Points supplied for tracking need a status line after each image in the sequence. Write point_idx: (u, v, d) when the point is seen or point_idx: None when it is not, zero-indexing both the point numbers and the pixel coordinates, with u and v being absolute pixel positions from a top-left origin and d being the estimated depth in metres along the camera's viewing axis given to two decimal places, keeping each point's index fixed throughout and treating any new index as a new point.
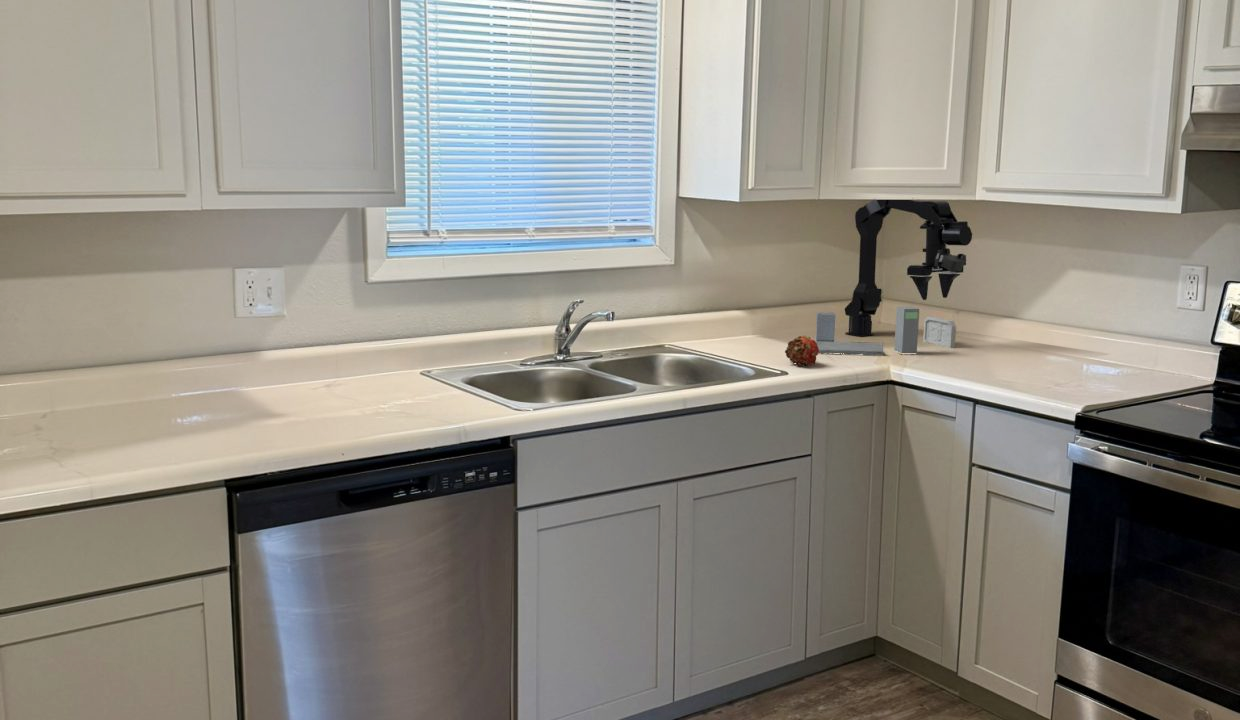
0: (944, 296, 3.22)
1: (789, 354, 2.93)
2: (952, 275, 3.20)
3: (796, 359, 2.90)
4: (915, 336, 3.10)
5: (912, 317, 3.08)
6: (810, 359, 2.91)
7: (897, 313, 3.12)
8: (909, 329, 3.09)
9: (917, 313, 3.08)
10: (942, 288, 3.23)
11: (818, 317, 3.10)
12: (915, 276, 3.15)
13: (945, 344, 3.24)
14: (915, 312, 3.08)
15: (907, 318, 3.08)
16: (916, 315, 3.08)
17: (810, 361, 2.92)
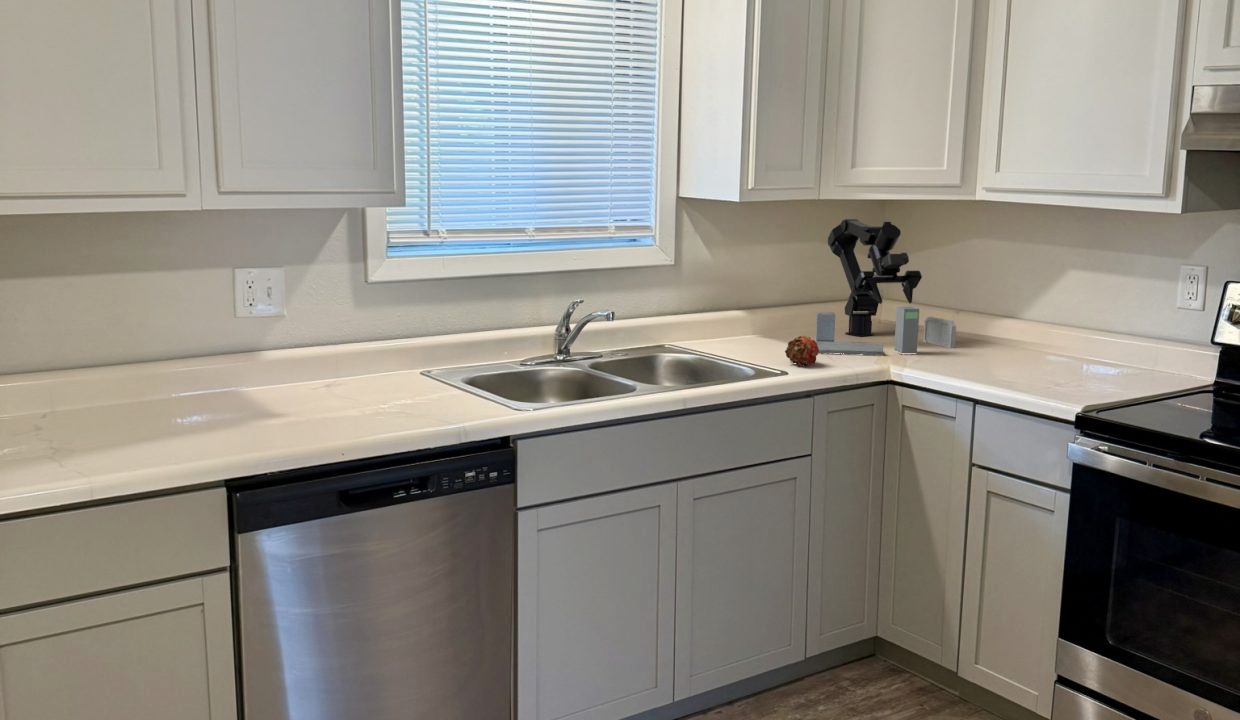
0: (910, 301, 3.19)
1: (789, 354, 2.93)
2: (908, 280, 3.21)
3: (796, 359, 2.90)
4: (915, 336, 3.10)
5: (912, 317, 3.08)
6: (810, 359, 2.91)
7: (897, 313, 3.12)
8: (909, 329, 3.09)
9: (917, 313, 3.08)
10: (907, 297, 3.21)
11: (818, 317, 3.10)
12: (863, 285, 3.21)
13: (945, 344, 3.24)
14: (915, 312, 3.08)
15: (907, 318, 3.08)
16: (916, 315, 3.08)
17: (810, 361, 2.92)
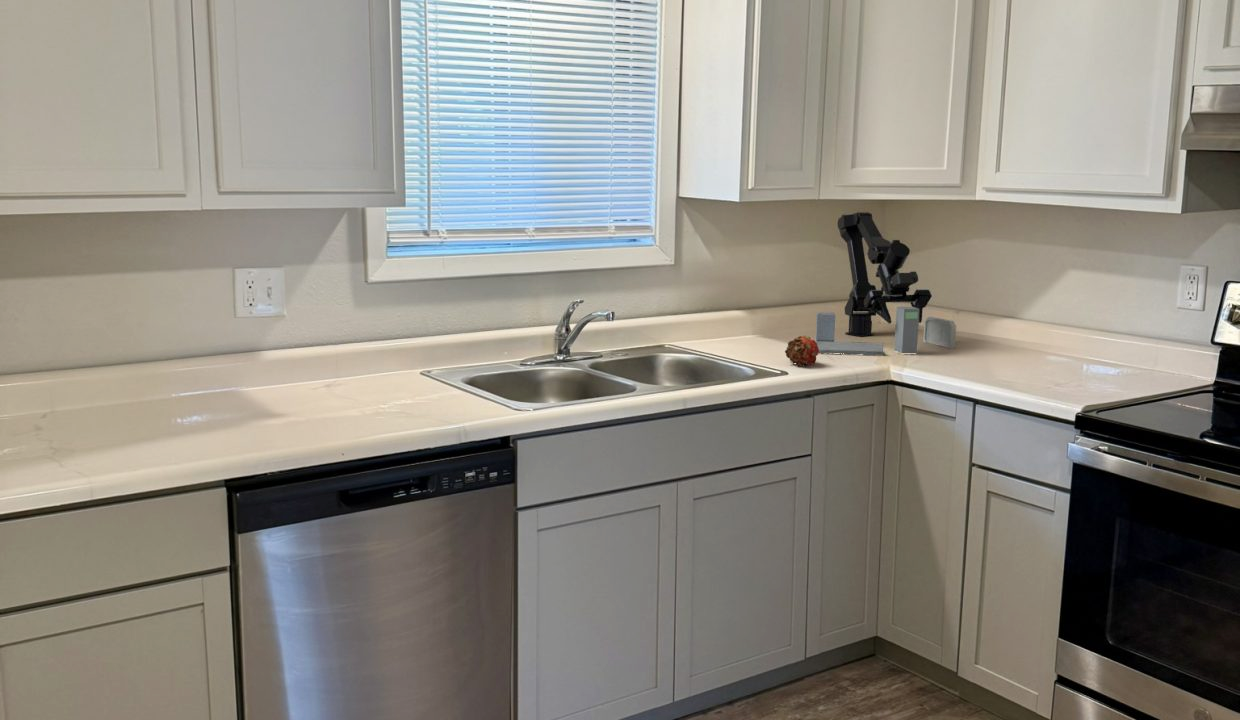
0: (920, 321, 3.13)
1: (789, 354, 2.93)
2: (918, 299, 3.15)
3: (796, 359, 2.90)
4: (915, 336, 3.10)
5: (912, 317, 3.08)
6: (810, 359, 2.91)
7: (897, 313, 3.12)
8: (909, 329, 3.09)
9: (917, 313, 3.08)
10: None
11: (818, 317, 3.10)
12: (872, 305, 3.15)
13: (945, 344, 3.24)
14: (915, 312, 3.08)
15: (907, 318, 3.08)
16: (916, 315, 3.08)
17: (810, 361, 2.92)
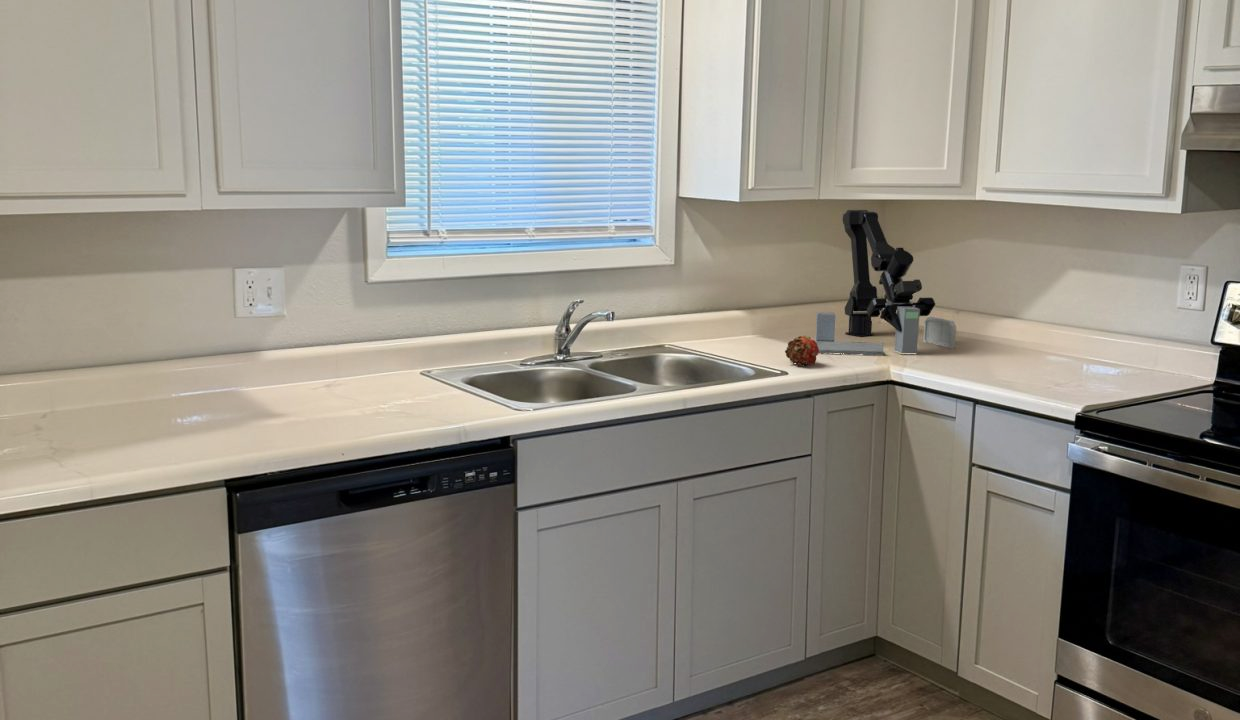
0: None
1: (789, 354, 2.93)
2: (915, 307, 3.12)
3: (796, 359, 2.90)
4: (915, 336, 3.10)
5: (912, 317, 3.08)
6: (810, 359, 2.91)
7: (897, 313, 3.12)
8: (910, 328, 3.09)
9: (917, 313, 3.08)
10: None
11: (818, 317, 3.10)
12: (882, 313, 3.13)
13: (945, 344, 3.24)
14: (916, 312, 3.08)
15: (907, 318, 3.08)
16: (917, 315, 3.08)
17: (810, 361, 2.92)
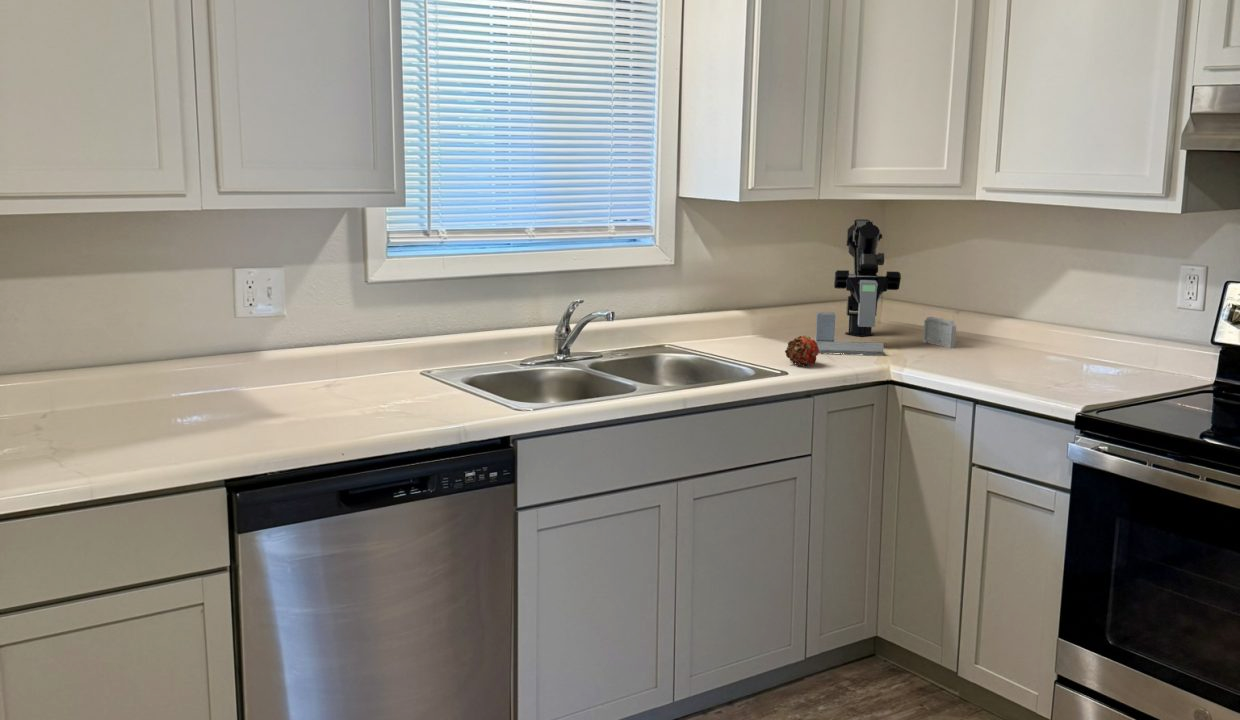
0: (876, 302, 3.17)
1: (789, 354, 2.93)
2: (878, 280, 3.19)
3: (796, 359, 2.90)
4: (873, 309, 3.17)
5: (869, 290, 3.16)
6: (810, 359, 2.91)
7: None
8: (866, 301, 3.17)
9: (875, 286, 3.15)
10: None
11: (818, 317, 3.10)
12: (846, 284, 3.23)
13: (945, 344, 3.24)
14: (873, 285, 3.15)
15: (864, 290, 3.16)
16: (874, 288, 3.16)
17: (810, 361, 2.92)
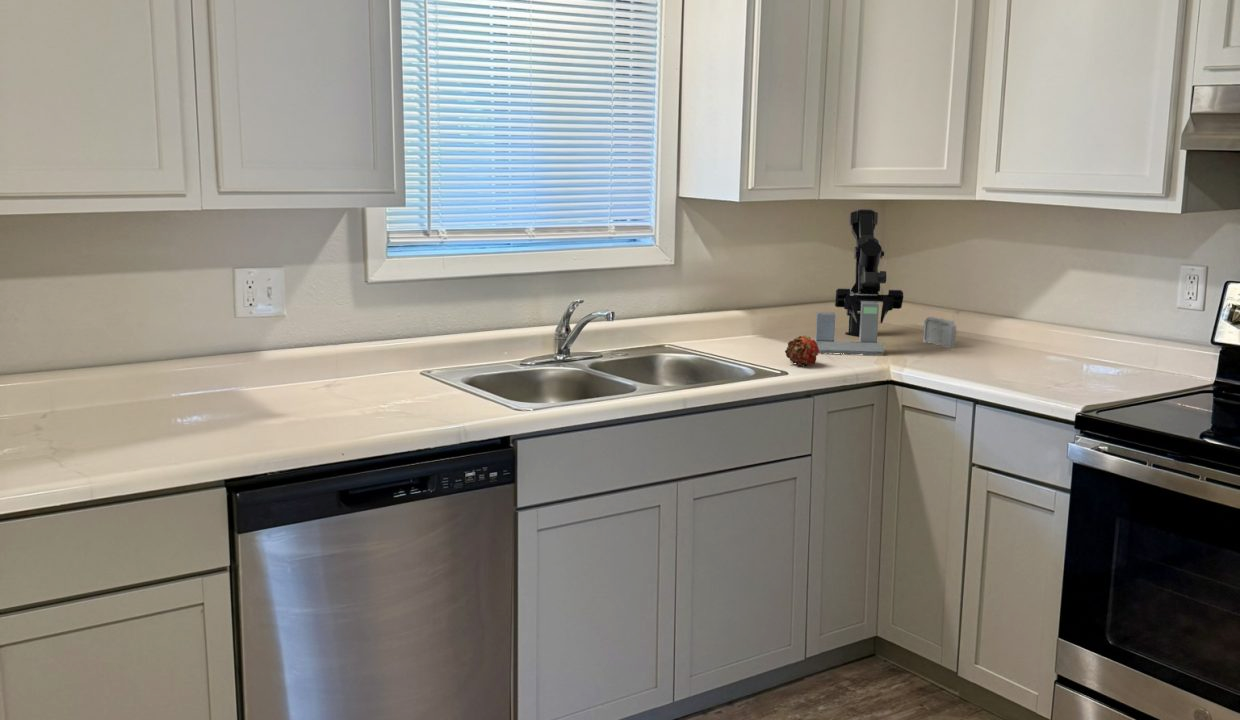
0: (881, 321, 3.09)
1: (789, 354, 2.93)
2: (883, 299, 3.11)
3: (796, 359, 2.90)
4: (875, 332, 3.09)
5: (871, 312, 3.08)
6: (810, 359, 2.91)
7: None
8: (868, 324, 3.09)
9: (876, 308, 3.08)
10: None
11: (818, 317, 3.10)
12: (844, 303, 3.15)
13: (945, 344, 3.24)
14: (875, 307, 3.08)
15: (865, 313, 3.08)
16: (876, 310, 3.08)
17: (810, 361, 2.92)
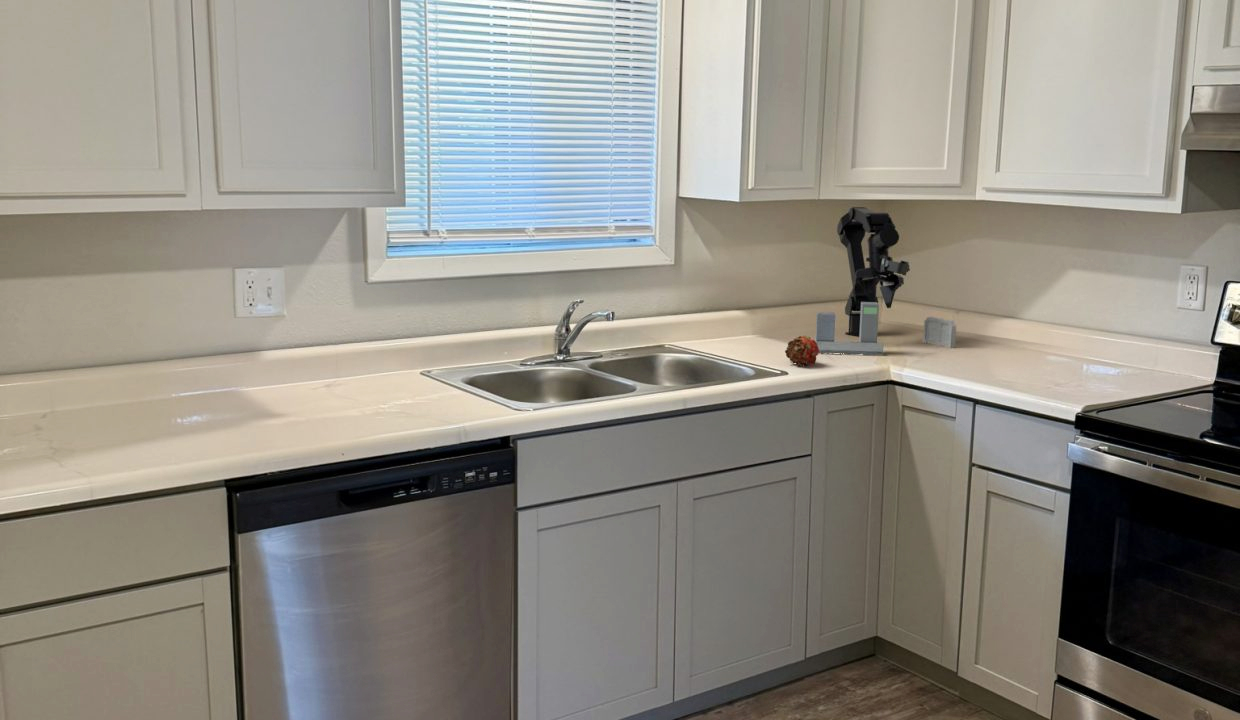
0: (888, 307, 3.27)
1: (789, 354, 2.93)
2: (894, 285, 3.27)
3: (796, 359, 2.90)
4: (875, 332, 3.09)
5: (871, 313, 3.08)
6: (810, 359, 2.91)
7: None
8: (868, 324, 3.08)
9: (876, 309, 3.07)
10: (885, 299, 3.28)
11: (818, 317, 3.10)
12: (864, 279, 3.19)
13: (945, 344, 3.24)
14: (875, 308, 3.07)
15: (865, 313, 3.08)
16: (876, 310, 3.07)
17: (810, 361, 2.92)
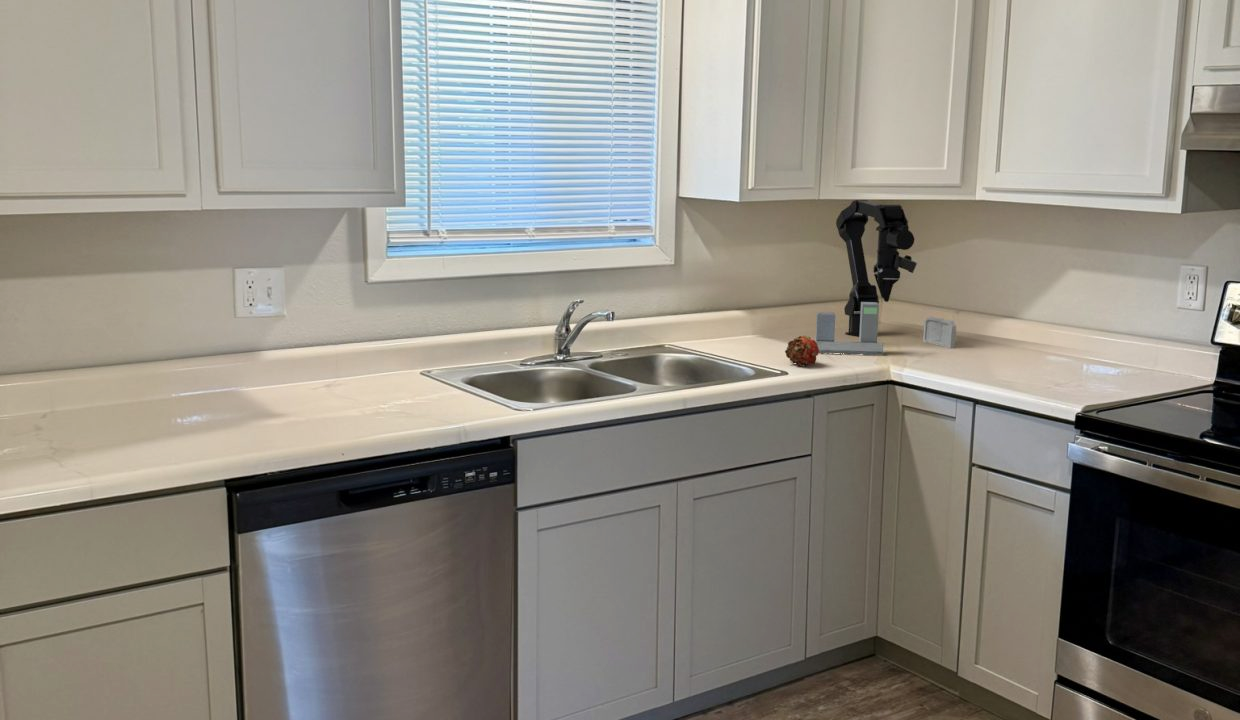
0: None
1: (789, 354, 2.93)
2: None
3: (796, 359, 2.90)
4: (875, 332, 3.09)
5: (871, 313, 3.08)
6: (810, 359, 2.91)
7: None
8: (868, 324, 3.08)
9: (876, 309, 3.07)
10: (881, 288, 3.32)
11: (818, 317, 3.10)
12: (886, 279, 3.19)
13: (945, 344, 3.24)
14: (875, 308, 3.07)
15: (865, 313, 3.08)
16: (876, 310, 3.07)
17: (810, 361, 2.92)
